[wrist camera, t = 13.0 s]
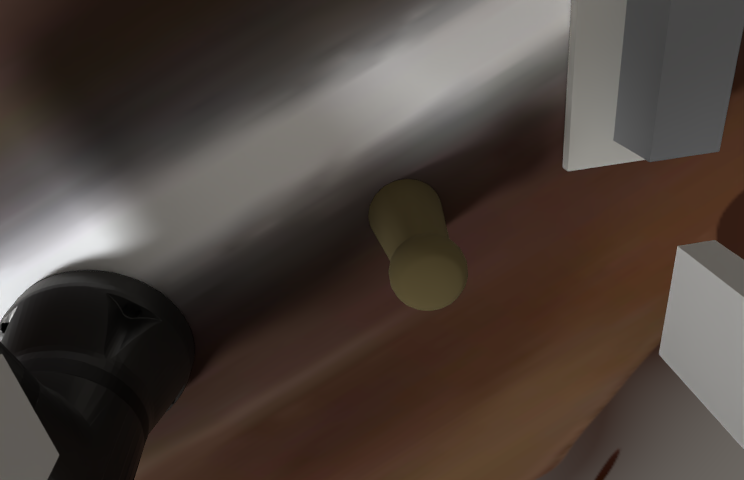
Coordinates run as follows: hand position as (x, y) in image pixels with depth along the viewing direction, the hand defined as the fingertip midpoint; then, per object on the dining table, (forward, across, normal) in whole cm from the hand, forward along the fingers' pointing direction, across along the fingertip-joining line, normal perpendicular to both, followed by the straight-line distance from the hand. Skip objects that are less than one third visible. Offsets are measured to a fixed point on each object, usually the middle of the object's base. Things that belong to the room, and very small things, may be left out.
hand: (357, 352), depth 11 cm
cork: (+31, -5, +12) cm, 34 cm away
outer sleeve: (+31, -24, +2) cm, 39 cm away
